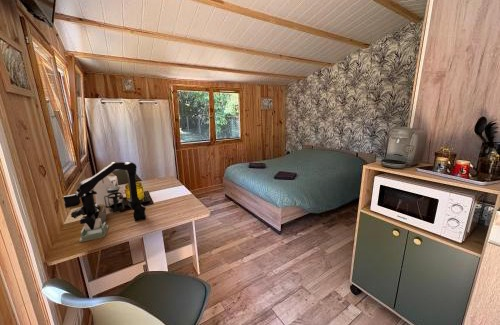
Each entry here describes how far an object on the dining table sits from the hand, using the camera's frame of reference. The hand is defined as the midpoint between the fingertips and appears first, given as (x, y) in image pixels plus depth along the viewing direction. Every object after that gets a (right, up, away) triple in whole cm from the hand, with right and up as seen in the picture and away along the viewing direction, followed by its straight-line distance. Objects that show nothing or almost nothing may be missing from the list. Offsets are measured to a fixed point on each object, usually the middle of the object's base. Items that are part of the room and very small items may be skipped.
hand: (93, 227), depth 125 cm
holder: (0, -4, +1) cm, 5 cm away
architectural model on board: (-8, -1, +19) cm, 21 cm away
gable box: (-24, +6, +49) cm, 55 cm away
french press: (-7, +3, +33) cm, 34 cm away
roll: (0, -1, 0) cm, 1 cm away
